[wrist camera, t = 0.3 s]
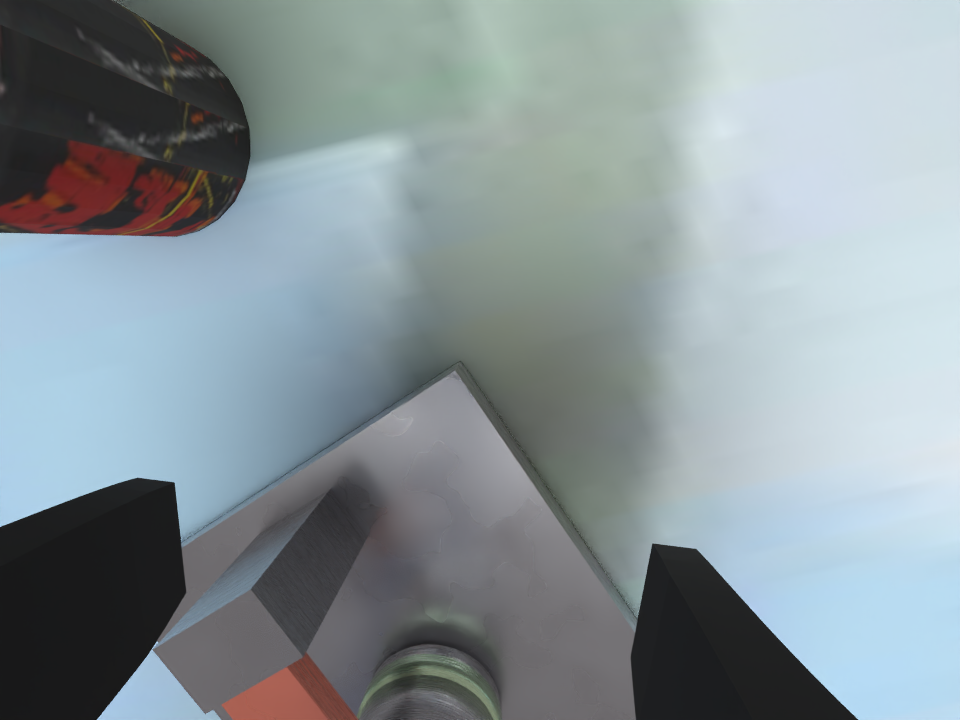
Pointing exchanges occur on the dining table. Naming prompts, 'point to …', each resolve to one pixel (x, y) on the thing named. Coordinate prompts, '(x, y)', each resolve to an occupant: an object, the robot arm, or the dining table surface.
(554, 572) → the stand
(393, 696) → the silver metal canister
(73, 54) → the deodorant
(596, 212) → the dining table surface
